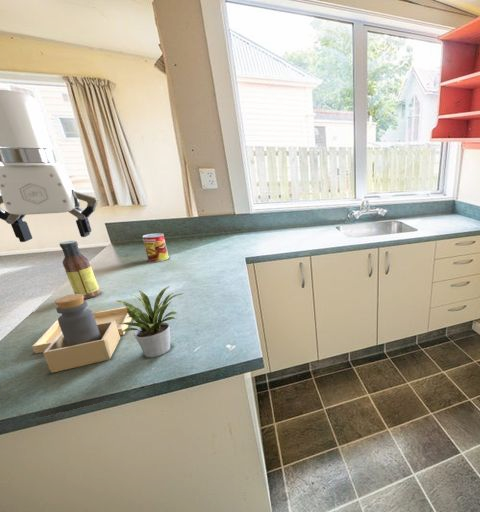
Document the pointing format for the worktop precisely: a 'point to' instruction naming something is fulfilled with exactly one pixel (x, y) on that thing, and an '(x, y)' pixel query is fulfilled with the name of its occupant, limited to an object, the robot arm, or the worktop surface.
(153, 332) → the house plant
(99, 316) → the tray
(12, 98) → the robot arm
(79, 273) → the sauce bottle
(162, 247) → the canned food
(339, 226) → the worktop surface
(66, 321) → the bottle
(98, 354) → the bin
